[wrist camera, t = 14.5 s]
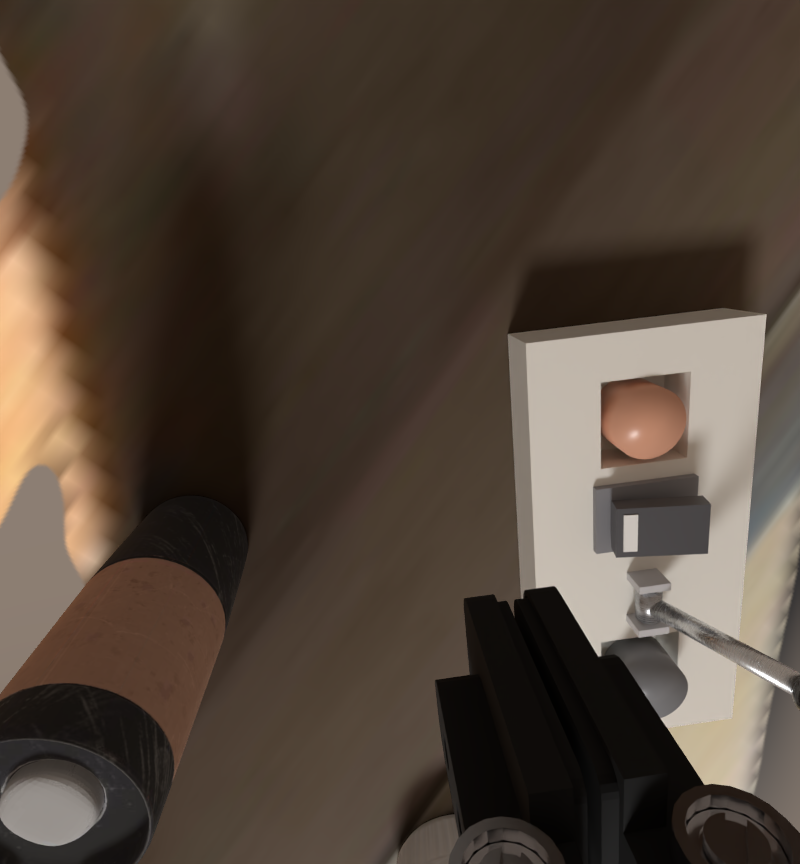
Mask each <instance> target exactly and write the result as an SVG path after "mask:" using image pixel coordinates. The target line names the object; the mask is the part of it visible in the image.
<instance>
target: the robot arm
mask: <svg viewBox="0 0 800 864" xmlns="http://www.w3.org/2000/svg"><path fill="white" fill-rule="evenodd" d="M464 613H465V625H466V637H467V648H468V660H469V671H470V675H467V676H460V677H453V678H446V679H439V680H435V687H436V697H437V706H438V715H439V723H440V731H441V738H442V745H443V751H444V758H445V764H446V770H447V775H448V781H449V786H450V792H451V798H452V803H453V809H454V814H455V820H456V825H457V831H458V837H459V838H458V839H457V841H456V843H455V845H454V847H453V849H452V851H451V853H450V857H449V864H800V833H799V832H798V831H797V830H796V829H795V827H793V826H792V825H791V823H790V822H789V821H788V820H787V819H786V818H785V817H783V816H782V815H781V814H780V813H779V812H778V811H777V810H775V809H774V808H773V807H772V806H771V805H770V804H768V803H766V802H764V801H763V800H761V799H759V798H758V797H756V796H754V795H753V794H751V793H748V792H745V791H742V790H740V789H737V788H734V787H731V786H724V785H716V784H709V785H704V784H703V782H702V781H701V779H700V778H699V776H698V775H697V773H696V771H695V770H694V768H693V767H692V765H691V764H690V762H689V761H688V759H687V758H686V756H685V755H684V753H683V752H682V750H681V749H680V747H679V746H678V744H677V743H676V741H675V740H674V738H673V737H672V735H671V733H670V732H669V730H668V729H667V727H666V726H665V724H664V723H663V721H662V720H661V718H660V717H659V715H658V714H657V712H656V711H655V709H654V708H653V706H652V705H651V703H650V702H649V700H648V699H647V697H646V695H645V694H644V692H643V691H642V689H641V688H640V686H639V685H638V683H637V682H636V680H635V679H634V677H633V676H632V674H631V673H630V671H629V670H628V668H627V667H626V665H625V664H624V662H623V661H622V660H621V659H620V657H619V656H617V655H615V654H613V655H606V656H599V657H598V655H597V654H596V652H595V650H594V649H593V647H592V645H591V644H590V642H589V640H588V639H587V637H586V635H585V634H584V632H583V630H582V629H581V627H580V626H579V624H578V622H577V621H576V619H575V617H574V616H573V614H572V612H571V611H570V609H569V607H568V606H567V604H566V602H565V601H564V599H563V597H562V596H561V594H560V592H559V591H558V589H557V588H556V587H555V586H550V587H543V588H536V589H528V590H525V591H524V594H523V599H516V600H515V601H514V615H515V618H514V616H513V613H512V611H511V609H510V606H509V604H508V602H507V601H501V602H497V600H496V598H495V596H494V595H493V594H492V595H485V596H478V597H471V598H464Z"/></svg>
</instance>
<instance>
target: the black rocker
mask: <svg viewBox="0 0 800 864" xmlns="http://www.w3.org/2000/svg"><path fill="white" fill-rule="evenodd" d="M710 514H711V504H710V503H709V502H708V500H707V499H706V498H705V497H704V496H703V495H702V496H684V497H666V498H647V499H629V500H611V548H612V550H613V552H614V554H615V556H616V558H622V557H645V556H668V555H691V554H708V546H709V530H710Z"/></svg>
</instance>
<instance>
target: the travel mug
mask: <svg viewBox="0 0 800 864" xmlns="http://www.w3.org/2000/svg"><path fill="white" fill-rule="evenodd" d="M247 551H248V541H247V536H246V532H245V530H244V527H243V525H242V523H241V522H240V520H239V519H238V517H237V516H236V515H235V514H234V513H233V512H232V511H231V510H230V509H229V508H227V507H226V506H224V505H223V504H221V503H219V502H217V501H215V500H213V499H209V498H206V497H201V496H181V497H176V498H173V499H170V500H168V501H165V502H163V503H162V504H160V505H158V506H157V507H156V508H155V509H153V510H152V511H151V512H150V513H149V514H148V515H147V516H146V518H145V519H144V520H143V521H142V522H141V523H140V524H139V525H138V526H137V527H136V529H135V530H134V531H133V532H132V533H131V534H130V535H129V536H128V538H127V539H126V540H125V541H124V542H123V543H122V544H121V545H120V547H119V548H118V549H117V550H116V551H115V552H114V553H113V554H112V556H111V557H110V558H109V559H108V560H107V561H106V562H105V564H104V565H103V566H102V567H101V568H100V569H99V570H98V571H97V573H96V574H95V575H94V576H93V577H92V578H91V579H90V581H89V582H88V583H87V584H86V585H85V587H84V588H83V589H82V591H81V592H80V593H79V594H78V596H77V597H76V598H75V599H74V601H73V602H72V603H71V604H70V606H69V607H68V608H67V610H66V611H65V612H64V613H63V615H62V616H61V617H60V618H59V620H58V621H57V622H56V624H55V625H54V626H53V627H52V629H51V630H50V631H49V633H48V634H47V635H46V637H45V638H44V639H43V640H42V641H41V643H40V644H39V645H38V647H37V648H36V649H35V650H34V652H33V653H32V654H31V655H30V657H29V658H28V659H27V661H26V662H25V663H24V664H23V666H22V667H21V668H20V669H19V671H18V672H17V673H16V675H15V676H14V677H13V678H12V680H11V681H10V682H9V684H8V685H7V686H6V687H5V689H4V690H3V691H2V692H1V694H0V864H137V863H138V862H139V861H140V859H141V858H142V857H143V855H144V853H145V852H146V850H147V848H148V847H149V845H150V842H151V840H152V838H153V835H154V832H155V830H156V827H157V824H158V821H159V819H160V816H161V813H162V810H163V807H164V804H165V802H166V799H167V796H168V793H169V790H170V787H171V785H172V782H173V779H174V776H175V773H176V771H177V768H178V765H179V762H180V759H181V757H182V754H183V751H184V748H185V745H186V742H187V740H188V737H189V734H190V731H191V728H192V726H193V723H194V720H195V717H196V714H197V711H198V709H199V706H200V703H201V700H202V697H203V695H204V692H205V689H206V686H207V683H208V681H209V678H210V675H211V672H212V669H213V666H214V664H215V661H216V658H217V655H218V652H219V650H220V647H221V644H222V641H223V638H224V635H225V632H226V628H227V625H228V621H229V618H230V614H231V611H232V607H233V604H234V600H235V597H236V593H237V590H238V586H239V583H240V579H241V576H242V572H243V569H244V565H245V561H246V557H247Z"/></svg>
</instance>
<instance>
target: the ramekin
mask: <svg viewBox="0 0 800 864" xmlns="http://www.w3.org/2000/svg"><path fill="white" fill-rule="evenodd" d="M458 838H459V837H458V831H457V825H456V820H455V814H452V815H445V816H441V817H438V818H435V819H432V820H430V821H428V822H426V823H424V824H422V825H421V826H420V827H418V828H417V829H416V830H415V831H414V832H413V833H412V834H411V835H410V836H409V837H408V839H407V840H406V841H405V843H404V844H403V846H402V848H401V850H400V852H399V856H398V858H397V864H449V857H450V853H451V851H452V849H453V847H454V845H455V843H456V841H457V839H458Z"/></svg>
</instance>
